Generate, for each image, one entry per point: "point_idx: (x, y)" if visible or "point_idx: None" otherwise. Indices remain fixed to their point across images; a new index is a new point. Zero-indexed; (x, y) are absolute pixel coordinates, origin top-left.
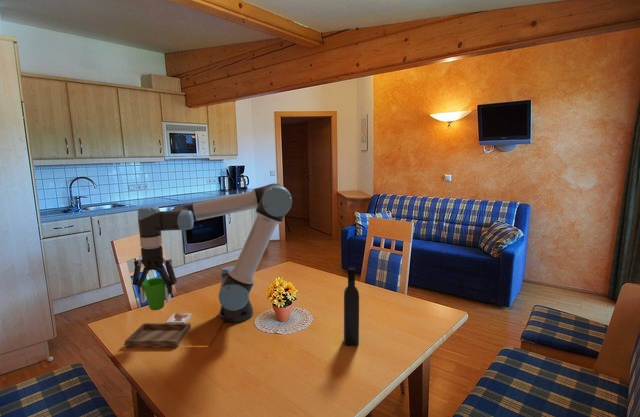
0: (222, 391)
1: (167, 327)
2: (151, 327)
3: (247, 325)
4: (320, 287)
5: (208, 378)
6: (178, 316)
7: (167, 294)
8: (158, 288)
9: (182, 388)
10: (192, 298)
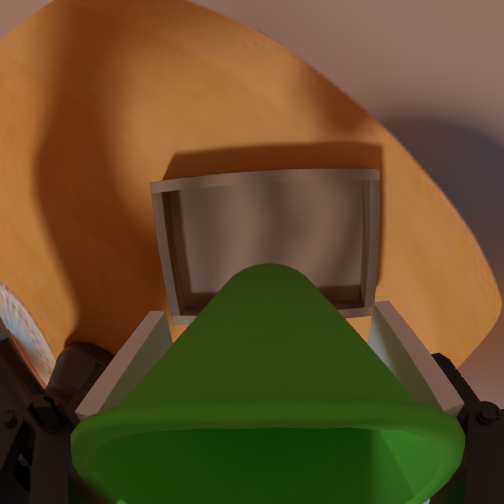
0: (17, 57)
1: None
2: (335, 303)
3: (47, 324)
4: None
5: (38, 74)
6: None
7: (117, 356)
8: (131, 391)
9: (78, 26)
10: None
